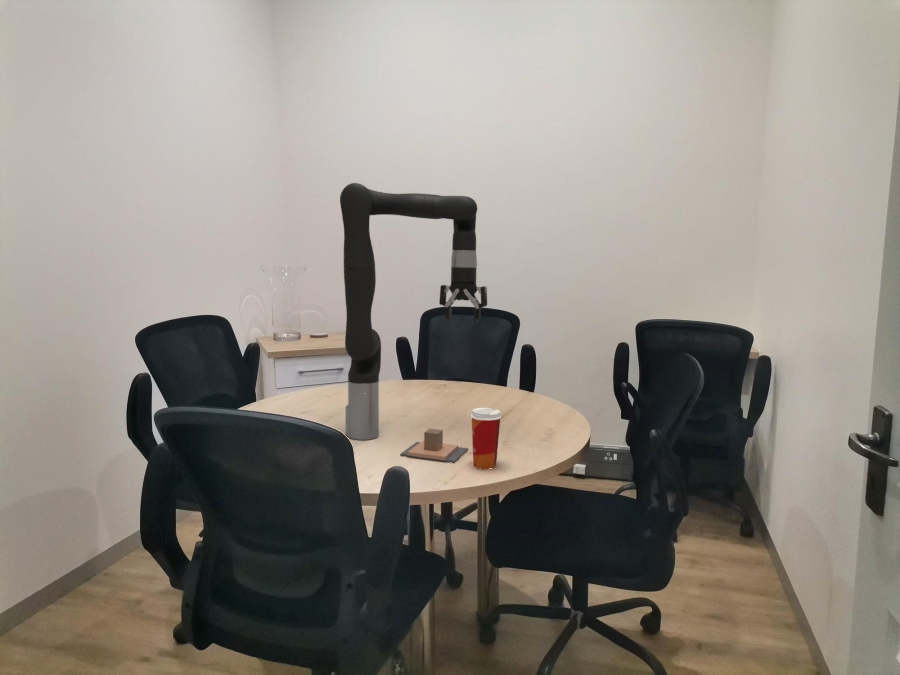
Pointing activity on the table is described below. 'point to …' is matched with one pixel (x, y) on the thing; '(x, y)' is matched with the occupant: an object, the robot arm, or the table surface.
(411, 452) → the cover
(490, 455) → the coffee cup
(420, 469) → the table surface
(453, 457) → the mat
